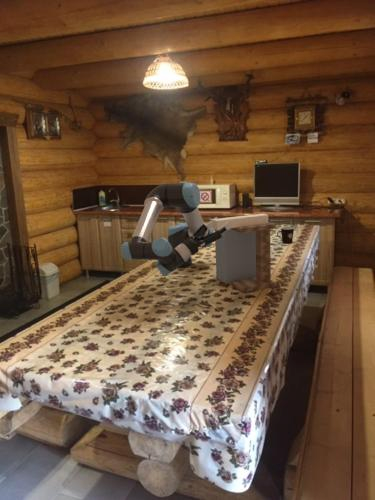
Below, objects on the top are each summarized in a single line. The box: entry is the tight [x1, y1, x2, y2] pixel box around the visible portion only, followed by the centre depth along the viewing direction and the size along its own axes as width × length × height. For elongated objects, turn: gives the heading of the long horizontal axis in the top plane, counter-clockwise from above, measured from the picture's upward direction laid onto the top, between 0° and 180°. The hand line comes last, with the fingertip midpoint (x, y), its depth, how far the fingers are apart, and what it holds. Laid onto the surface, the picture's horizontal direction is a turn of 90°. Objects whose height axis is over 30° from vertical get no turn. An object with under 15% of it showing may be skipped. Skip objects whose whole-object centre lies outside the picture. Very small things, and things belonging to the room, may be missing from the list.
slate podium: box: [214, 229, 256, 285], centre depth 212 cm, size 17×12×27 cm
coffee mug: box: [276, 226, 295, 245], centre depth 286 cm, size 12×9×10 cm
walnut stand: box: [229, 221, 277, 293], centre depth 199 cm, size 18×12×30 cm, turn 110°
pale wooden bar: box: [211, 213, 269, 230], centre depth 193 cm, size 26×5×4 cm, turn 110°
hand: (224, 221), depth 190 cm, fingers open, 13 cm apart
